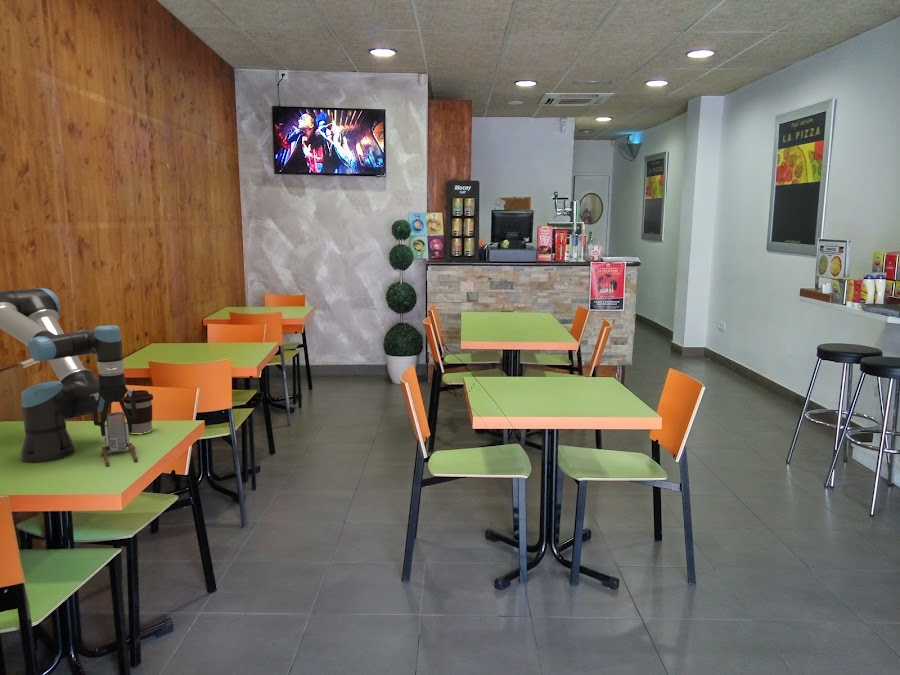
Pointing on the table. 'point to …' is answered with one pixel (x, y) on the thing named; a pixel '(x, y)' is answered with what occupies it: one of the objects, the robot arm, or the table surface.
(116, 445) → the energy drink
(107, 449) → the stop block
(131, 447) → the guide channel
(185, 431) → the table surface
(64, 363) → the robot arm
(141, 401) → the coffee cup
